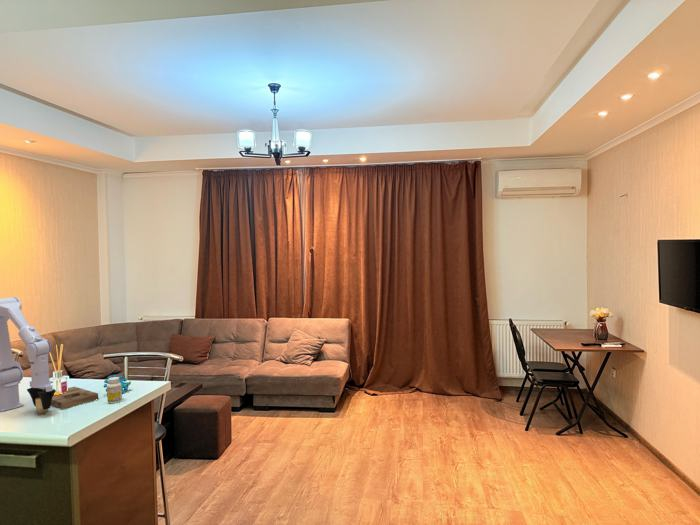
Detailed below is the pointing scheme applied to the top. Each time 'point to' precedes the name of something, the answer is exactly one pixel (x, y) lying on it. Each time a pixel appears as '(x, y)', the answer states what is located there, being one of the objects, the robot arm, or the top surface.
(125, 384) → the gear
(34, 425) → the top surface
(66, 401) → the jig plate
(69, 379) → the top surface
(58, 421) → the top surface
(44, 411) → the cylinder
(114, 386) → the supplement bottle
